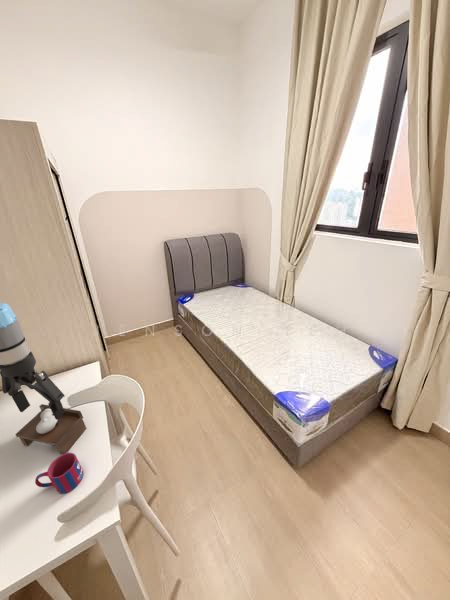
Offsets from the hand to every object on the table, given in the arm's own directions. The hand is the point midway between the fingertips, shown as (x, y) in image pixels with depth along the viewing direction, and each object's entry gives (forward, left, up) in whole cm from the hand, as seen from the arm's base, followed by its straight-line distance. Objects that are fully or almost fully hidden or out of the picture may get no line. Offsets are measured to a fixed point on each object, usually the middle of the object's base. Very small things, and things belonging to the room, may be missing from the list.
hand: (42, 412), depth 74 cm
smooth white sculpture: (+1, 0, -6) cm, 6 cm away
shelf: (0, 0, -12) cm, 12 cm away
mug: (+14, -11, -12) cm, 22 cm away
